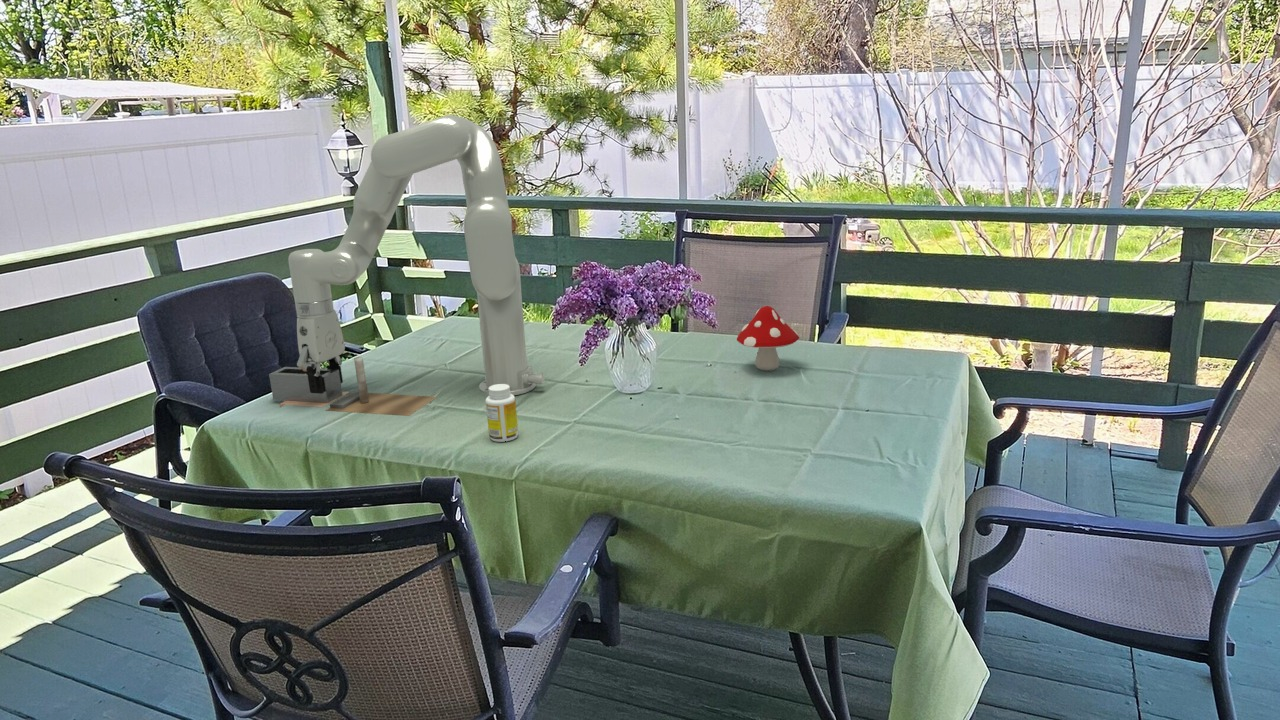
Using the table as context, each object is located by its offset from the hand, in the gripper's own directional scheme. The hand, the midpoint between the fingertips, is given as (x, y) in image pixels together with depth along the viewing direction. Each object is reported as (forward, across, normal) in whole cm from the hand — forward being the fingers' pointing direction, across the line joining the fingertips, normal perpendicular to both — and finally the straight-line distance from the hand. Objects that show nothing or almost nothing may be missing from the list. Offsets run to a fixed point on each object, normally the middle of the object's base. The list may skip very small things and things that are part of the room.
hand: (326, 387), depth 196 cm
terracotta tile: (+3, 0, +4) cm, 5 cm away
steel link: (+3, 0, +5) cm, 6 cm away
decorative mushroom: (+3, +37, -91) cm, 98 cm away
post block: (+3, -1, -14) cm, 14 cm away
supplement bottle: (+4, -13, -48) cm, 50 cm away
